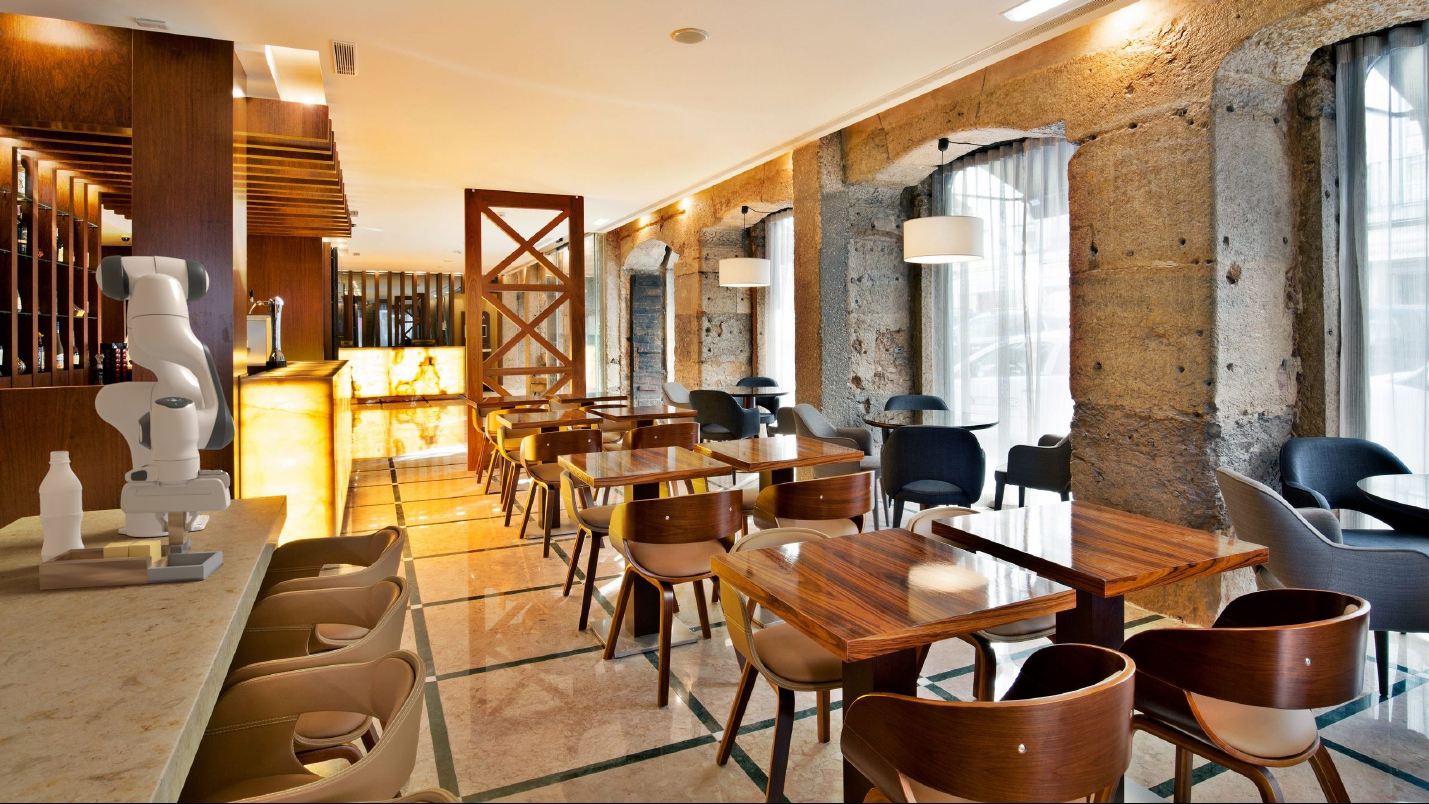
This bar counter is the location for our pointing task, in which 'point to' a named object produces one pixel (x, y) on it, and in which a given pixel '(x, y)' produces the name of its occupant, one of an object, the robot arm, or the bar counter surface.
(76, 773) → the bar counter surface
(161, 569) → the tray
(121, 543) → the pale yellow block
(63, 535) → the water bottle
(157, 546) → the pale yellow cube
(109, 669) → the bar counter surface
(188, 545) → the wooden post on base
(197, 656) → the bar counter surface
